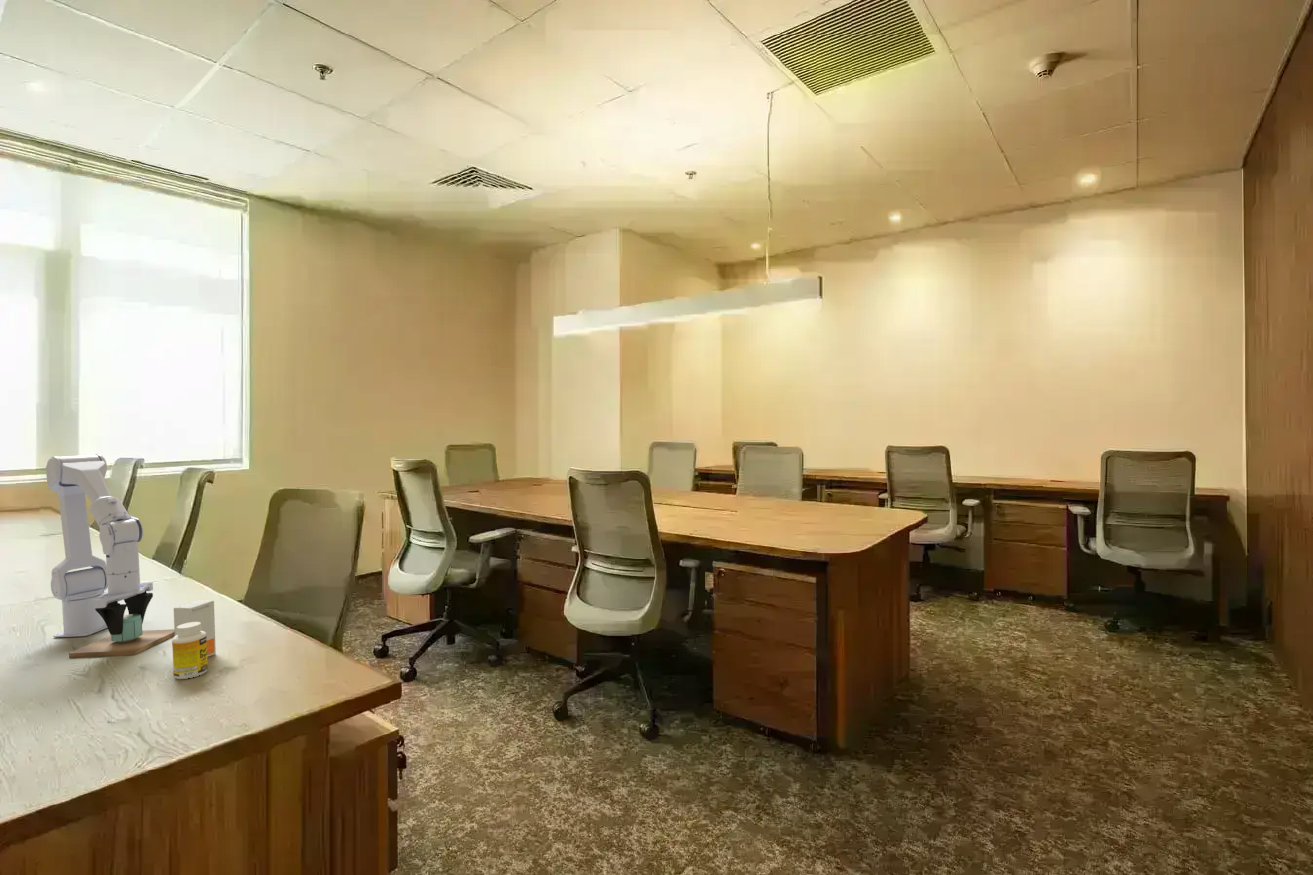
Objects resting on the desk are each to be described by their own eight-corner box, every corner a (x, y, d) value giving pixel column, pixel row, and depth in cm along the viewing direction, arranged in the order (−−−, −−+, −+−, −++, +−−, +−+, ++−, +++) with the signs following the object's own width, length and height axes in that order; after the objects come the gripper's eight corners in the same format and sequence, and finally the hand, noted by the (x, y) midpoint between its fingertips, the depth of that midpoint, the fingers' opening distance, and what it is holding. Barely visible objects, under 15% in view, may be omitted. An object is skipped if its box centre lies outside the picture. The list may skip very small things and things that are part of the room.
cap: (124, 633, 147) (123, 613, 147) (147, 632, 147) (146, 612, 147) (105, 641, 142) (103, 620, 141) (129, 640, 142) (128, 619, 142)
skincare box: (191, 664, 131) (188, 608, 131) (175, 663, 132) (172, 607, 132) (217, 653, 137) (214, 600, 137) (201, 652, 138) (198, 599, 138)
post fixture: (120, 635, 151) (119, 619, 151) (180, 632, 152) (179, 616, 152) (69, 657, 137) (68, 639, 137) (134, 654, 138) (133, 636, 138)
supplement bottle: (205, 676, 125) (202, 626, 124) (170, 682, 122) (167, 631, 122) (210, 667, 130) (208, 618, 129) (177, 672, 127) (175, 623, 127)
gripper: (115, 579, 137) (118, 640, 137) (164, 563, 151) (167, 618, 152) (82, 580, 137) (85, 641, 137) (134, 564, 151) (137, 620, 151)
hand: (126, 629), depth 144 cm, fingers closed on cap, 5 cm apart
